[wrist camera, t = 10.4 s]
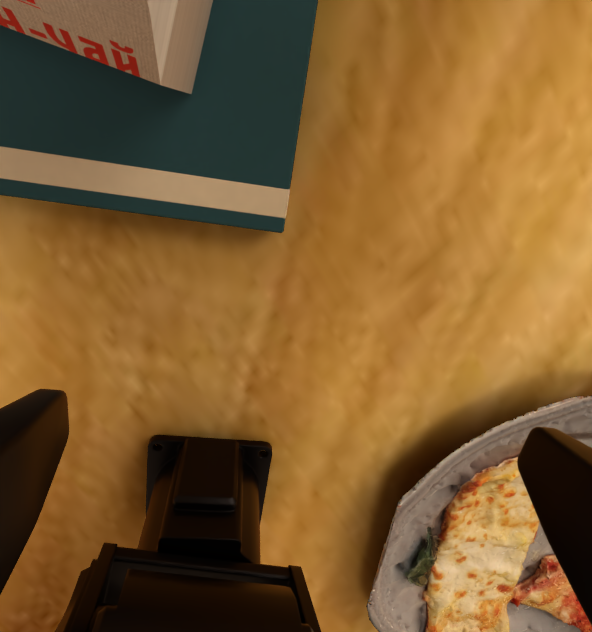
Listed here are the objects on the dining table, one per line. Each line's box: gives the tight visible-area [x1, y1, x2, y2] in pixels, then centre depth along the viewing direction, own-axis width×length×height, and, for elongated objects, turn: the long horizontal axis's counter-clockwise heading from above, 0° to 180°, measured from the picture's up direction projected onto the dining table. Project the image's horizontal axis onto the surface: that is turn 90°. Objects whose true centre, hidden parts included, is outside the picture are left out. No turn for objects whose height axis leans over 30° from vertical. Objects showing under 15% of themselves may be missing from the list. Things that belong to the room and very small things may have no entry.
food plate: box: [367, 396, 592, 632], centre depth 28 cm, size 25×23×4 cm
